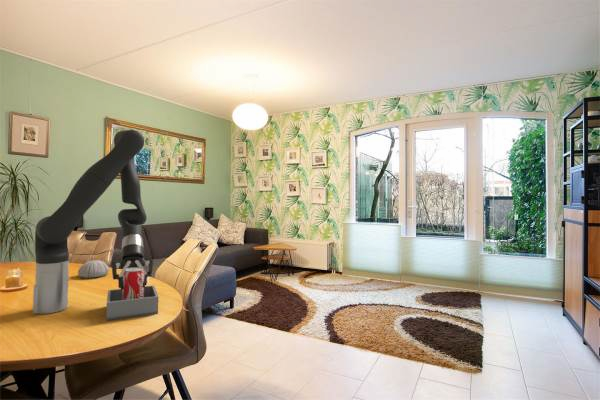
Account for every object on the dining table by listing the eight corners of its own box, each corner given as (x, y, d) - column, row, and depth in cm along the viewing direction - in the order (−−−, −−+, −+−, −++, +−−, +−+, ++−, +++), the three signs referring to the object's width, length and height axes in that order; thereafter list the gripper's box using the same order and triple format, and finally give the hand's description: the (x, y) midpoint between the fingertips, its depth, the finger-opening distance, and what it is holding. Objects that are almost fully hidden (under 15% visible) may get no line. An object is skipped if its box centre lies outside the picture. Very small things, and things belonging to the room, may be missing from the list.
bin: (106, 321, 103) (106, 302, 103) (107, 306, 117) (108, 290, 116) (157, 313, 111) (158, 296, 111) (153, 300, 124) (154, 285, 124)
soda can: (134, 306, 110) (135, 272, 110) (117, 304, 111) (118, 270, 111) (147, 299, 117) (149, 267, 117) (131, 297, 118) (132, 266, 118)
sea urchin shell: (71, 277, 154) (71, 261, 154) (96, 271, 167) (96, 256, 167) (91, 280, 150) (92, 263, 150) (116, 274, 163) (116, 259, 163)
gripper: (111, 244, 116) (109, 283, 106) (153, 242, 124) (155, 279, 114) (111, 255, 121) (109, 294, 111) (152, 253, 128) (154, 290, 118)
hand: (133, 286), depth 112 cm, fingers closed on soda can, 6 cm apart
